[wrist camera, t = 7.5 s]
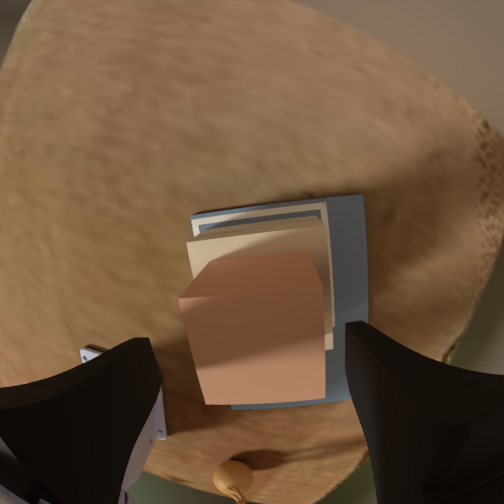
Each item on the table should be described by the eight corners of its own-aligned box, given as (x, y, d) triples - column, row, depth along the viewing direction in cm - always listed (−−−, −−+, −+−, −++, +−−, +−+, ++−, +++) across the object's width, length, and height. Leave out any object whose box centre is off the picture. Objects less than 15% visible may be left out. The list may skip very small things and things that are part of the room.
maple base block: (324, 318, 20) (333, 349, 16) (223, 328, 20) (211, 359, 17) (315, 215, 18) (325, 225, 14) (204, 229, 19) (186, 242, 15)
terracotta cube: (314, 339, 16) (325, 398, 11) (224, 346, 16) (206, 404, 11) (308, 250, 15) (322, 285, 10) (209, 261, 15) (178, 298, 10)
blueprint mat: (362, 393, 21) (364, 397, 21) (232, 406, 23) (231, 410, 22) (361, 194, 18) (363, 194, 17) (192, 215, 19) (190, 216, 19)
